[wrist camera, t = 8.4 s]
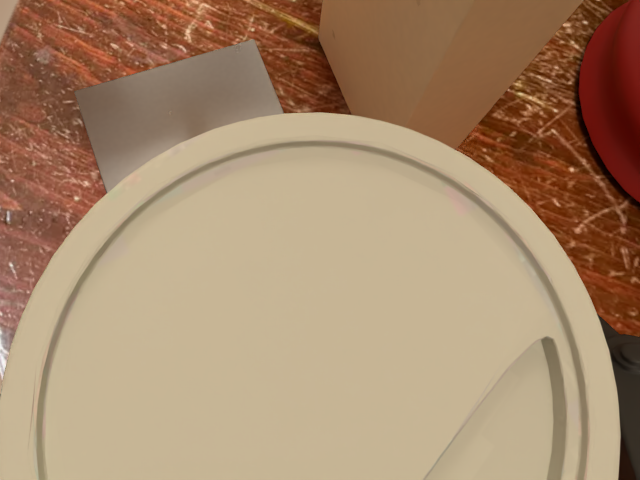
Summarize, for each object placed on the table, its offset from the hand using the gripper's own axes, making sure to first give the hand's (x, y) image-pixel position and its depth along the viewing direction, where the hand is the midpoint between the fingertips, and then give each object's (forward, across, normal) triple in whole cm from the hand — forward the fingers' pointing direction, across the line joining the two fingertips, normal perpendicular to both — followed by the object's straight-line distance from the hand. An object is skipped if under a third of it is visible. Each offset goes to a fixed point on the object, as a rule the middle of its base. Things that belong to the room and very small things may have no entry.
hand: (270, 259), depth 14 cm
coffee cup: (+1, 0, -5) cm, 5 cm away
